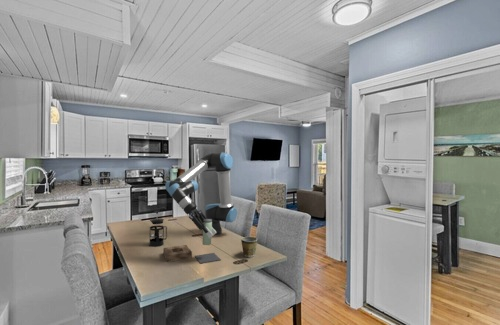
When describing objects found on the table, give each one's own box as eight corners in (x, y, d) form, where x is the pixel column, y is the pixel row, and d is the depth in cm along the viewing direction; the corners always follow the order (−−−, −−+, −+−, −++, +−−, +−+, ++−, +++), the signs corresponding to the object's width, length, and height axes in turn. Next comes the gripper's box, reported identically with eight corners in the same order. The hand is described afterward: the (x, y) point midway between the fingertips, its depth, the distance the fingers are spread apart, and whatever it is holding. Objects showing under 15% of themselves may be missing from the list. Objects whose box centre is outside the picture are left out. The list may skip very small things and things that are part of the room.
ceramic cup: (259, 257, 151) (259, 240, 152) (243, 259, 149) (243, 242, 149) (252, 250, 164) (253, 234, 164) (238, 251, 161) (238, 235, 161)
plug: (209, 242, 151) (210, 218, 151) (212, 244, 147) (213, 220, 147) (201, 243, 149) (202, 219, 149) (204, 245, 144) (205, 221, 145)
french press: (148, 247, 165) (149, 212, 166) (147, 243, 174) (147, 210, 174) (167, 245, 171) (168, 211, 171) (165, 241, 179) (165, 209, 179)
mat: (213, 253, 156) (213, 252, 156) (220, 260, 146) (220, 259, 146) (194, 256, 151) (194, 255, 151) (200, 263, 140) (200, 262, 140)
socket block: (186, 250, 161) (186, 244, 161) (191, 257, 149) (191, 251, 149) (163, 253, 155) (163, 247, 155) (167, 261, 143) (167, 255, 143)
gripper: (190, 207, 160) (214, 235, 156) (176, 212, 143) (202, 244, 139) (198, 199, 159) (222, 227, 155) (185, 203, 141) (212, 235, 138)
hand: (213, 235), depth 147 cm, fingers closed on plug, 5 cm apart
